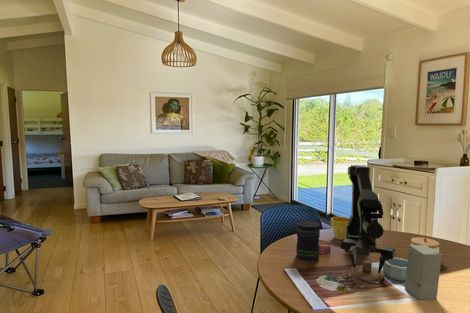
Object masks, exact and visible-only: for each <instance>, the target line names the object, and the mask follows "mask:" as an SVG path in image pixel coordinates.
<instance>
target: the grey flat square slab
mask: <svg viewBox="0 0 470 313" xmlns="http://www.w3.org/2000/svg"><path fill="white" fill-rule="evenodd" d="M383 273H384V272H383ZM384 276H386V274H385V273H384ZM347 277H350V278H354V279H357V280H360V281H361V280H362V279H359V278H356V277H354V276H353V275H352V274H351V273H350V272H349V273H348V274H347ZM362 281H366V282H368V283H372V284H377V285H379V284H380V282H381V281H382V280H378V281H367V280H362Z"/></svg>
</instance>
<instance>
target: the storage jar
mask: <svg viewBox="0 0 470 313" xmlns="http://www.w3.org/2000/svg"><path fill="white" fill-rule="evenodd" d="M320 227H321V223H319V222H318V221H315V220H308V219H307V220H304V219H303V220H298V221H297V222H296V236H297V237H296V239H297V240H296V242H297V243H296V248H295V249H296V250H295V251H296V256H295V257H296V258H297V259H299V260H300V261H304V262H316V261H317V262H318V261H319V259H320V236H321V235H320V233H321V232H320V231H321V230H320V229H321V228H320Z"/></svg>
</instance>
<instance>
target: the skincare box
mask: <svg viewBox="0 0 470 313" xmlns="http://www.w3.org/2000/svg"><path fill="white" fill-rule="evenodd" d="M407 255H408V256H407V260H408V262H407V270H406V279H405V280H404V289H405V290H406V291H408V292H409V293H410V294H412V296H414V297H415V298H417V299H418V300H420V301H421V300H422V301H423V300H424V301H426V300H428V301H429V300H437V299H438V297H437V296H438V289H439V281H440V273H441V266H442V257H443V254H441V253H440V252H439V253H438V252H436V251H435V250H434V249H431V248H430V247H428V246H426V245H411V244H409V246H408V254H407Z"/></svg>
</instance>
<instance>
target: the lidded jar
mask: <svg viewBox="0 0 470 313" xmlns="http://www.w3.org/2000/svg"><path fill="white" fill-rule="evenodd" d="M410 245H426V246H428V247H430V248H431V249H434V250H435V251H436V252H438V253H440V246H441V245H440V242H439V241H437V240H434V239H432V238H429V237H428V238H427V237H412V238H411V239H410Z"/></svg>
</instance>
